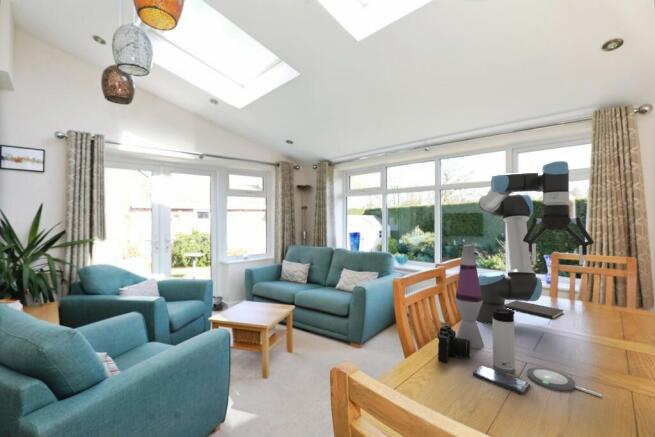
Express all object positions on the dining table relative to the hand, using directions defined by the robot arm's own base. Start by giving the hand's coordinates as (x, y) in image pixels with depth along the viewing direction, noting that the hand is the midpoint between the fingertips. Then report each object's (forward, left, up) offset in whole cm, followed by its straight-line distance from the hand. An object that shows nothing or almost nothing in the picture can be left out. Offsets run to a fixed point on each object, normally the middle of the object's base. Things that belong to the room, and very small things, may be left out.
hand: (556, 262), depth 107 cm
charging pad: (+5, -20, -34) cm, 40 cm away
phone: (-8, -32, -34) cm, 48 cm away
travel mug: (-10, -23, -35) cm, 43 cm away
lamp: (-27, -11, -35) cm, 45 cm away
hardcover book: (-23, +57, -35) cm, 70 cm away
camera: (-25, -28, -35) cm, 51 cm away
